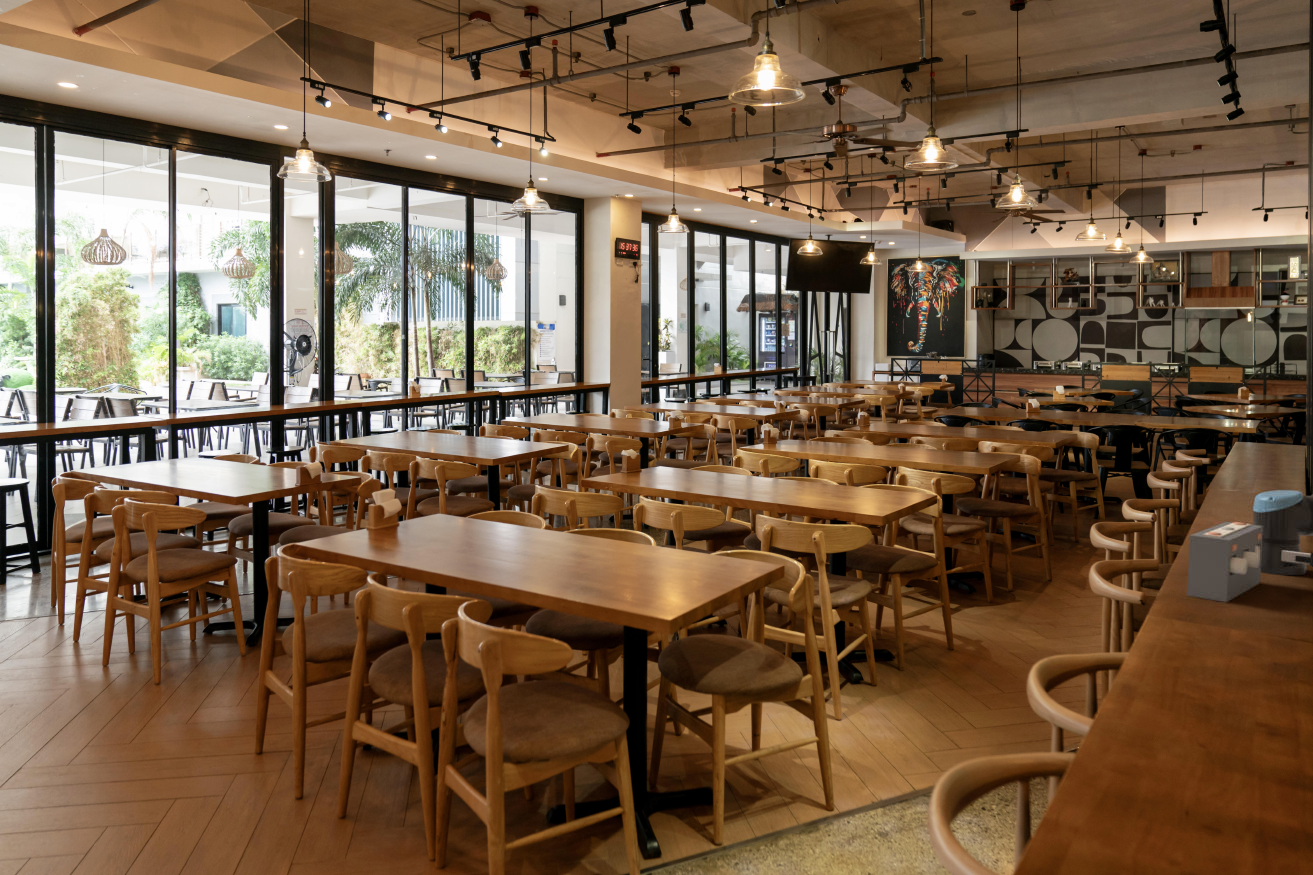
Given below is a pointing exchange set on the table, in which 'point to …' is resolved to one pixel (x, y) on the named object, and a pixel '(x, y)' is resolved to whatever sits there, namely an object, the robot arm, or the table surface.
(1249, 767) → the table surface
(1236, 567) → the button
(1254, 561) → the button middle
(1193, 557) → the button panel
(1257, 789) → the table surface
